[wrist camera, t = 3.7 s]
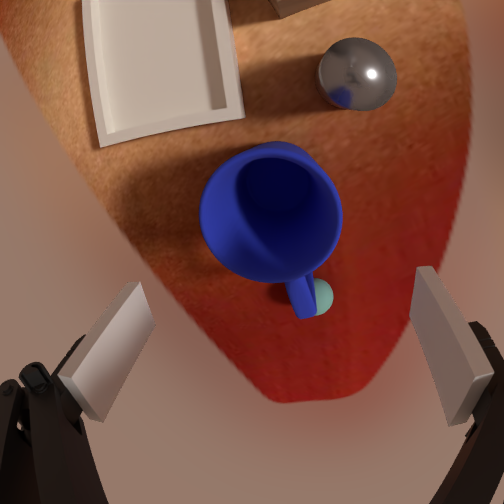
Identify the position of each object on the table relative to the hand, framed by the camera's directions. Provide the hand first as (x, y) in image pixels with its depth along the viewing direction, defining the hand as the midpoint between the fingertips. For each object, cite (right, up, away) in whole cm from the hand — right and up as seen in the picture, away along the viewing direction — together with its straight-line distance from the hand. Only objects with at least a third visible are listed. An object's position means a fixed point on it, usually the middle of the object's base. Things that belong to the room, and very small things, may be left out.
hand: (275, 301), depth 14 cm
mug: (+2, +7, +13) cm, 15 cm away
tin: (+6, +16, +8) cm, 19 cm away
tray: (-9, +20, +8) cm, 24 cm away
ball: (+5, -1, +16) cm, 17 cm away
